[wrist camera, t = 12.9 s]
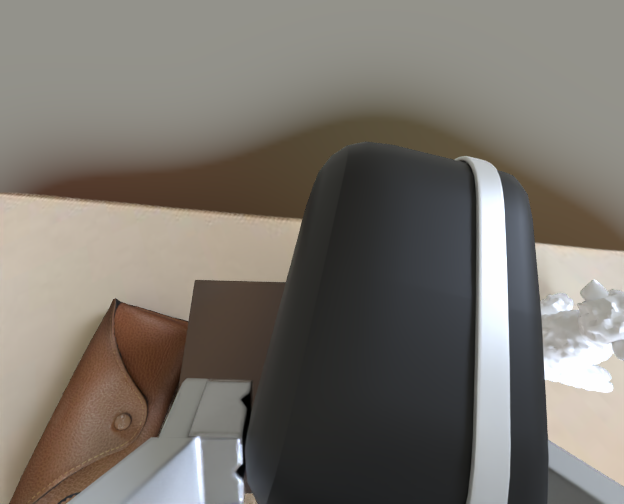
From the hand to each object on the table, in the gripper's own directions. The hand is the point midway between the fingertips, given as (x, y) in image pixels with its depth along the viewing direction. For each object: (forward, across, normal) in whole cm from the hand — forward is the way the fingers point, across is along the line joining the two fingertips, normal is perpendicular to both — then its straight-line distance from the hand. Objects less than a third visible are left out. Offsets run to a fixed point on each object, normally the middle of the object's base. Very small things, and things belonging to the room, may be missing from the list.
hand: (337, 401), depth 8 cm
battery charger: (+6, 0, +4) cm, 7 cm away
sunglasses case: (+17, +15, +18) cm, 29 cm away
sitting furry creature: (+21, -23, +13) cm, 34 cm away
